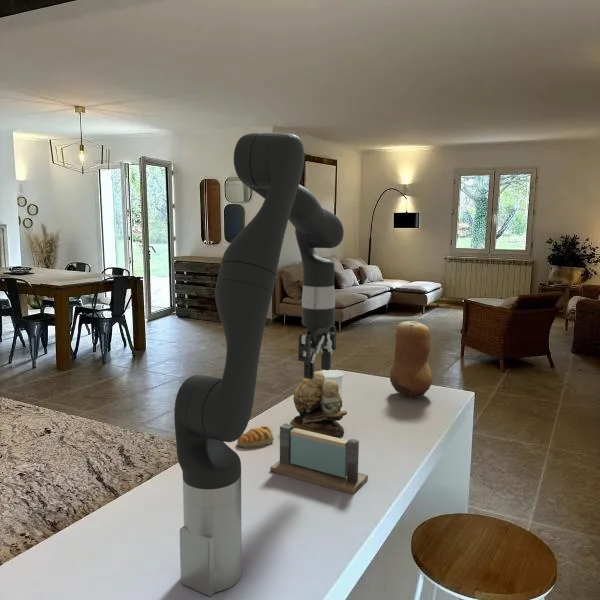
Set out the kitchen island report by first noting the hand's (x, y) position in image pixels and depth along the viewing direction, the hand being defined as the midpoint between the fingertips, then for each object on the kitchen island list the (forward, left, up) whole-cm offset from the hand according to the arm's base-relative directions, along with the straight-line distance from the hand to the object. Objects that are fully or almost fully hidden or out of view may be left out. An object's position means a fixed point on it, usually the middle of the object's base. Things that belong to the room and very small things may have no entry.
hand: (317, 373), depth 127 cm
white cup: (+40, +17, -23) cm, 49 cm away
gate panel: (-5, -3, -21) cm, 21 cm away
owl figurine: (+19, +10, -23) cm, 32 cm away
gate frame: (-5, -3, -22) cm, 23 cm away
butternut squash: (+61, -2, -23) cm, 66 cm away
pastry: (+3, +20, -23) cm, 30 cm away
